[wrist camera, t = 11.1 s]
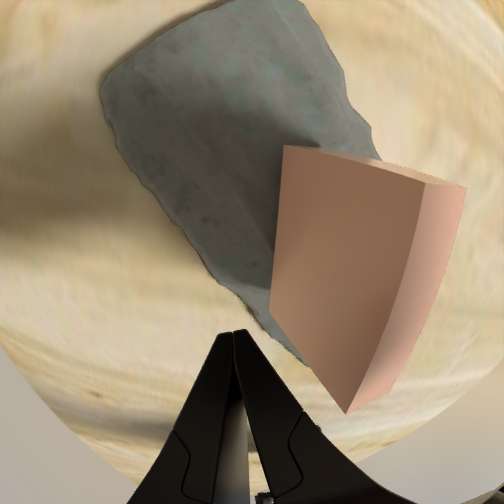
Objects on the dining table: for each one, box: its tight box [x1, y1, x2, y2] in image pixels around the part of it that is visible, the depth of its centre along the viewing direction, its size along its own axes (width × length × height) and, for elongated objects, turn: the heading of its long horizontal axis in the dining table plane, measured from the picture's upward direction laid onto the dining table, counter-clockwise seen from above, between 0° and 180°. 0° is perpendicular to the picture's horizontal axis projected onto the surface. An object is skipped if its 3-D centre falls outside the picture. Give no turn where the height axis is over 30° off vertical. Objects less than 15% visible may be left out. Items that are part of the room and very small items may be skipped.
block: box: [269, 145, 467, 415], centre depth 9 cm, size 2×7×6 cm, turn 176°
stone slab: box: [100, 0, 382, 367], centre depth 14 cm, size 22×3×10 cm
